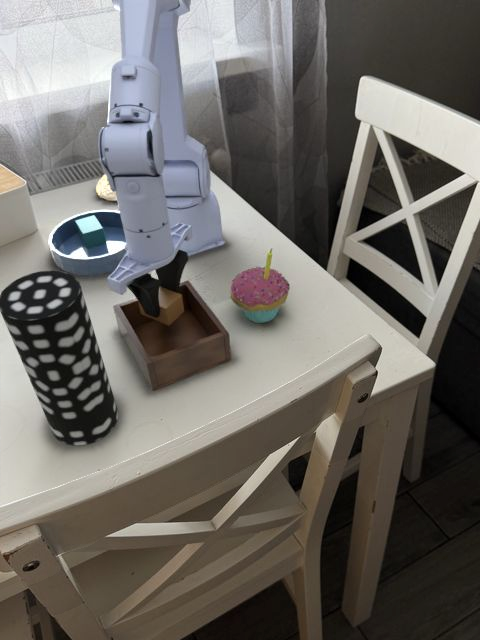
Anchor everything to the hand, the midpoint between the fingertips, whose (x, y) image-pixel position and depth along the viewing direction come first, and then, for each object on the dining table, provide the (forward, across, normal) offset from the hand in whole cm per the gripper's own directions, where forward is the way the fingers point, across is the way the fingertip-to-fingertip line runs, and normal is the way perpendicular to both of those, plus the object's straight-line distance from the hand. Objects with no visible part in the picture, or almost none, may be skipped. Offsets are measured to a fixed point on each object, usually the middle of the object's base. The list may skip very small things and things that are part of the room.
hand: (161, 306), depth 82 cm
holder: (+6, +1, +2) cm, 6 cm away
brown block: (+1, 0, 0) cm, 1 cm away
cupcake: (+6, -11, +9) cm, 15 cm away
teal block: (+5, -13, -27) cm, 31 cm away
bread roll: (+6, -30, -34) cm, 46 cm away
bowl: (+6, -11, -24) cm, 27 cm away
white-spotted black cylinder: (+6, +18, +1) cm, 19 cm away
